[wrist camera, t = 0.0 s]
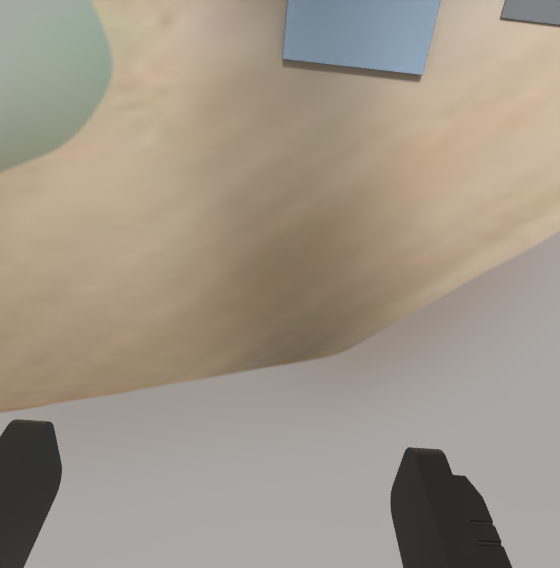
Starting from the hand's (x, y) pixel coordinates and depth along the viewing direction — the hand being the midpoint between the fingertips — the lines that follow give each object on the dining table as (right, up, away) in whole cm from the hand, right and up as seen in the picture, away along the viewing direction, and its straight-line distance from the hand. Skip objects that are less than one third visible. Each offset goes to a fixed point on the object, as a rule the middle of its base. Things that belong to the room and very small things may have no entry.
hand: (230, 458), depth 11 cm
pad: (+7, +24, +20) cm, 32 cm away
